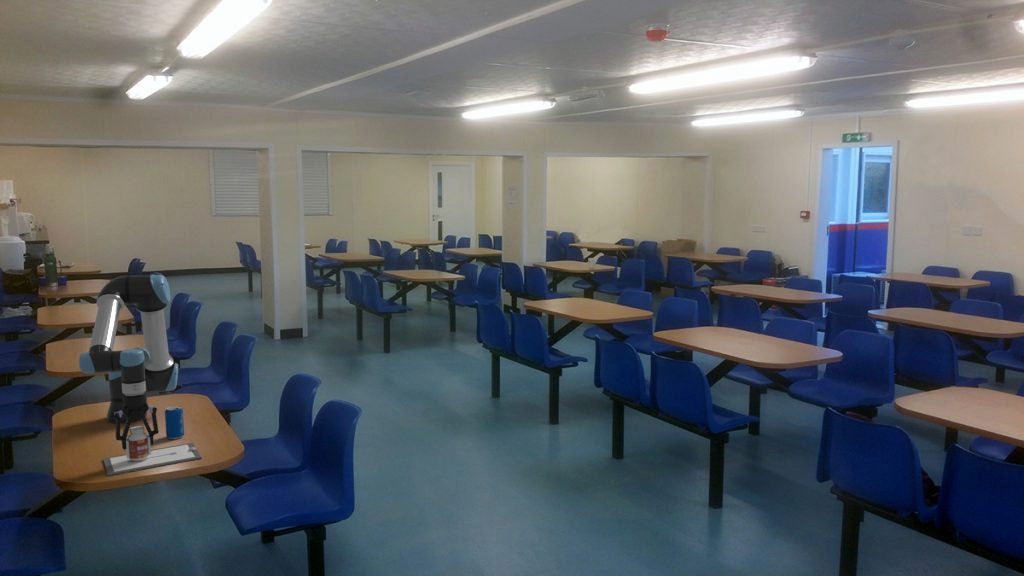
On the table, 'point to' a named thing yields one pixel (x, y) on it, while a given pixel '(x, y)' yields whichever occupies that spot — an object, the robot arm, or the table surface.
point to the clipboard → (152, 459)
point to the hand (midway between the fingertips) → (138, 455)
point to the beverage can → (174, 422)
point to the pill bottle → (138, 443)
